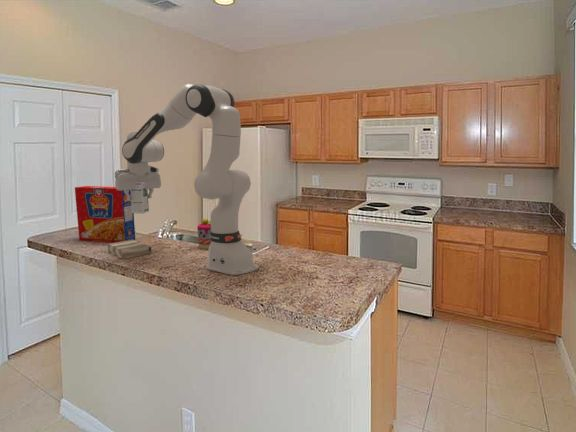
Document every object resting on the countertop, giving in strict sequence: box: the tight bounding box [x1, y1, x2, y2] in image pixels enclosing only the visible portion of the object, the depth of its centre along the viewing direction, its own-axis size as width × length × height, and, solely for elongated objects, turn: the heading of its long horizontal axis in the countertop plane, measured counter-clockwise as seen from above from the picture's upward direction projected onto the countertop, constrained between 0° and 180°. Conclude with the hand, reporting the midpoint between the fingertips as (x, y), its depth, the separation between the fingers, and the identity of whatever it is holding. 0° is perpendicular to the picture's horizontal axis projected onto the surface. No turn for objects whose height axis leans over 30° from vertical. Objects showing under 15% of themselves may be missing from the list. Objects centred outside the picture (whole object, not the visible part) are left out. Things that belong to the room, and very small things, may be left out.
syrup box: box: [130, 182, 150, 214], centre depth 177 cm, size 6×6×14 cm
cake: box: [197, 218, 211, 250], centre depth 188 cm, size 10×11×15 cm
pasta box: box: [74, 185, 136, 244], centre depth 199 cm, size 28×8×28 cm, turn 75°
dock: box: [107, 239, 152, 260], centre depth 177 cm, size 16×13×4 cm
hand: (139, 199), depth 177 cm, fingers closed on syrup box, 8 cm apart
